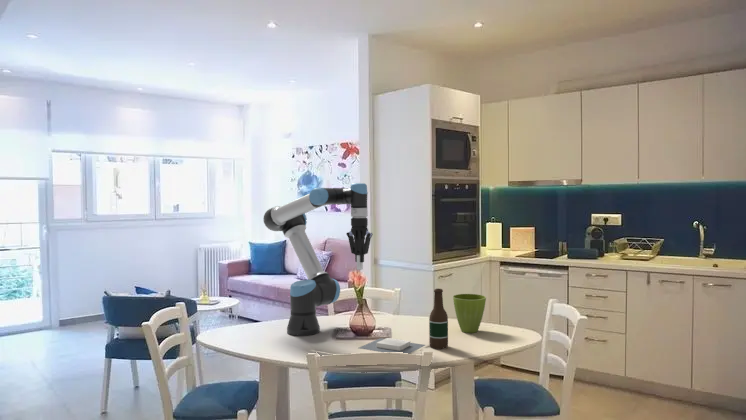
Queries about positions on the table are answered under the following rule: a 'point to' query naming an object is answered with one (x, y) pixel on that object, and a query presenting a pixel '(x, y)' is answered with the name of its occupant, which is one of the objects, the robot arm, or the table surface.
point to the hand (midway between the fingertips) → (359, 269)
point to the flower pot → (469, 311)
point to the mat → (407, 350)
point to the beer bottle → (438, 323)
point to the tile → (393, 344)
